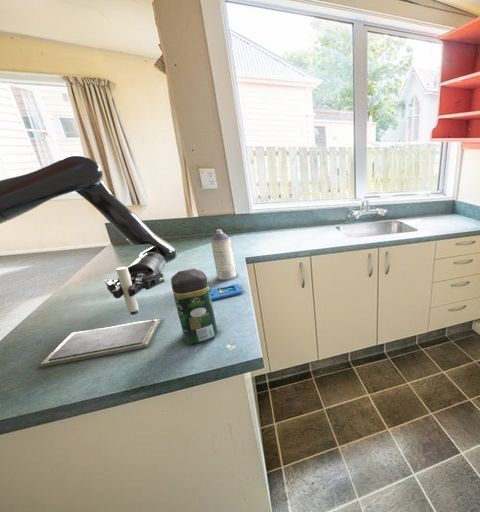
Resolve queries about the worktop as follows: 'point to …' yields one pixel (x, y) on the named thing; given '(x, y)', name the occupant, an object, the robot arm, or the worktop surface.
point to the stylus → (125, 284)
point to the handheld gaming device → (225, 291)
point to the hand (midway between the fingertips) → (123, 293)
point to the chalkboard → (103, 342)
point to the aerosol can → (223, 256)
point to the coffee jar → (194, 305)
